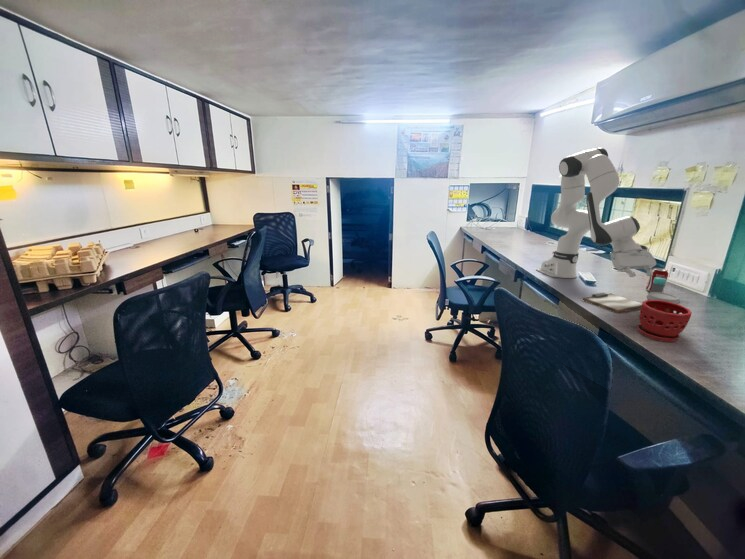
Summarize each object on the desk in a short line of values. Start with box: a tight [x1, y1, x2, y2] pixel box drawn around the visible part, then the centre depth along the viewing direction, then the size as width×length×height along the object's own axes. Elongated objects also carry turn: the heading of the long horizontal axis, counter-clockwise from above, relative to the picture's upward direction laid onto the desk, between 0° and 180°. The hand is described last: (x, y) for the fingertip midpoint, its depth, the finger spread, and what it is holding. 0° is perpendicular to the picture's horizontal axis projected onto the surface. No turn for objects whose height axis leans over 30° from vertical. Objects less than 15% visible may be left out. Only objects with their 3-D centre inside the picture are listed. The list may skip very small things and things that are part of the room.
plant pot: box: [636, 299, 692, 343], centre depth 112 cm, size 13×13×12 cm
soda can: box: [645, 267, 669, 293], centre depth 158 cm, size 7×7×12 cm
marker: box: [651, 277, 667, 293], centre depth 139 cm, size 4×4×13 cm
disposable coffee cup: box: [646, 292, 680, 312], centre depth 122 cm, size 10×10×12 cm
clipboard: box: [582, 292, 643, 314], centre depth 144 cm, size 16×19×2 cm
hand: (641, 276), depth 142 cm, fingers open, 8 cm apart
